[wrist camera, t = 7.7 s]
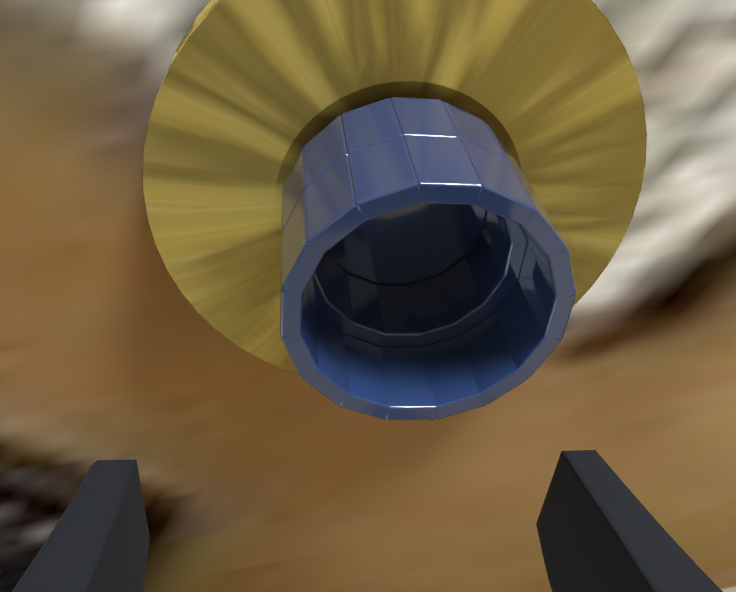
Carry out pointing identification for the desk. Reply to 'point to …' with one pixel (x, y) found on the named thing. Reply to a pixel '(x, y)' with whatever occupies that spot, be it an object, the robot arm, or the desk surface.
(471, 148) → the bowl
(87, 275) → the desk surface
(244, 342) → the gold flat disc
